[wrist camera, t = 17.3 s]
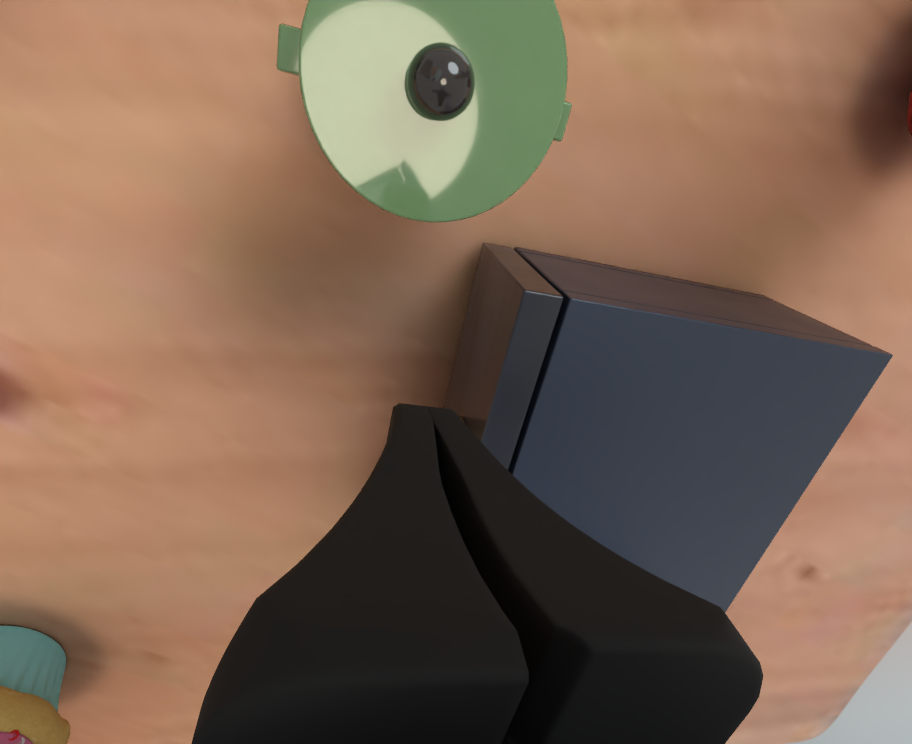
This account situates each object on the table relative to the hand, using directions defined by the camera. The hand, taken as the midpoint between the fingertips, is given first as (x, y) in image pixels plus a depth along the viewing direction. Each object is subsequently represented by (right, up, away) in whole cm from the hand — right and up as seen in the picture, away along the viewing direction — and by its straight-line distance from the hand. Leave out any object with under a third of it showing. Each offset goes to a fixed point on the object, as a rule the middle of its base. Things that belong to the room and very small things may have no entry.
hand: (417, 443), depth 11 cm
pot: (0, +11, +5) cm, 12 cm away
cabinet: (+7, 0, +12) cm, 14 cm away
